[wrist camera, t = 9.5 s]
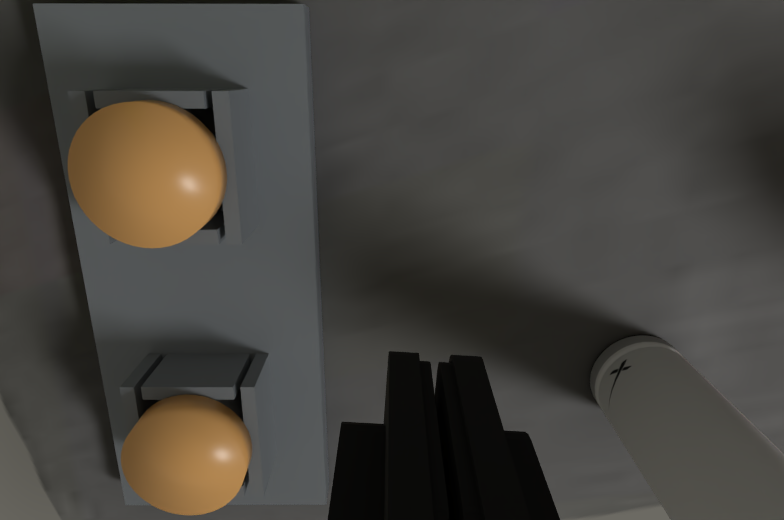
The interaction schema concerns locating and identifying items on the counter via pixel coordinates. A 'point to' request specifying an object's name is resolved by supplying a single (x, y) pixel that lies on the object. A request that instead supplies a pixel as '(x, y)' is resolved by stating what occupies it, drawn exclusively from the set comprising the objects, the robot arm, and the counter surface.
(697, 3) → the counter surface
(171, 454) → the knob
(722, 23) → the counter surface
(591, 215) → the counter surface
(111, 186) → the knob
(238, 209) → the console
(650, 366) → the travel mug
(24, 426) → the counter surface
